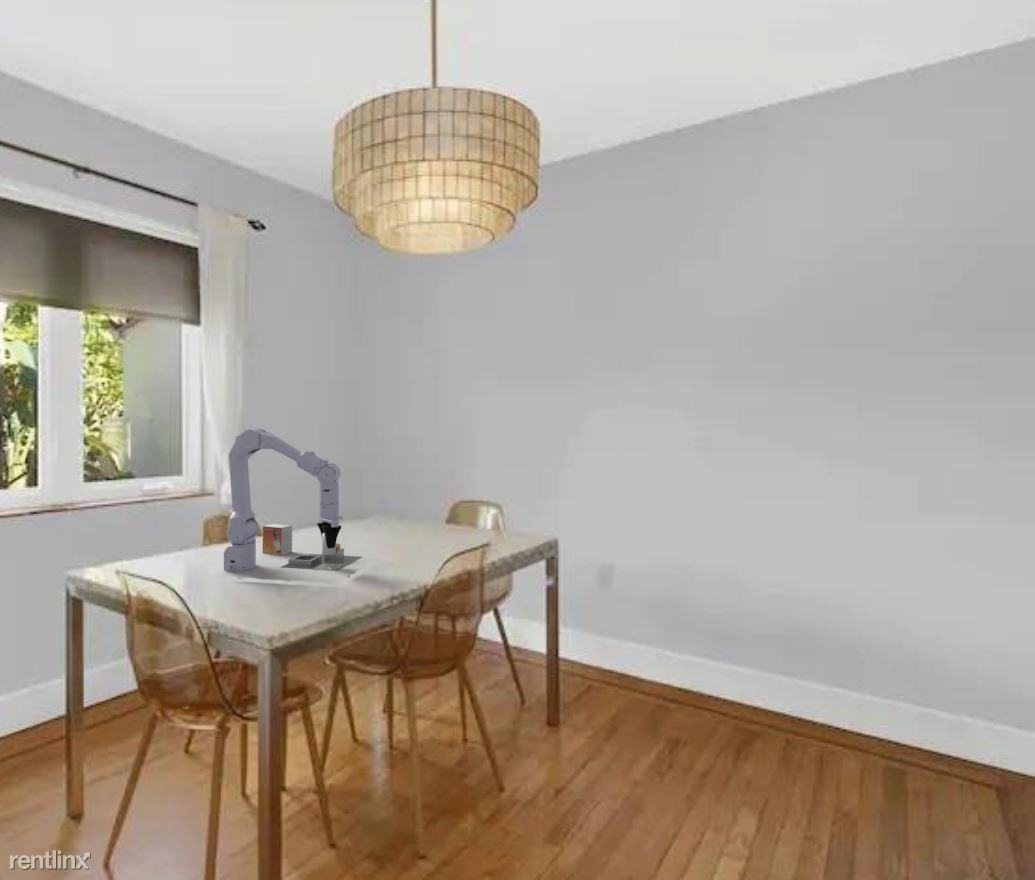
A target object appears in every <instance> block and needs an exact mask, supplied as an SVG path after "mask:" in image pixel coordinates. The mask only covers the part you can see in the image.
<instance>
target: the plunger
mask: <svg viewBox="0 0 1035 880" xmlns="http://www.w3.org/2000/svg"><path fill="white" fill-rule="evenodd" d="M338 548H341V543H337V542H336V551H337V550H338Z"/></svg>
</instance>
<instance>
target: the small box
mask: <svg viewBox="0 0 1035 880" xmlns="http://www.w3.org/2000/svg"><path fill="white" fill-rule="evenodd" d="M292 552H293V525H292V524H289V525H288V524H280V523H279V524H278V523H271V524H267V525H263V526H262V554H267V555H276V556H283V555H287V554H290V553H292Z"/></svg>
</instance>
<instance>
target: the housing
mask: <svg viewBox="0 0 1035 880" xmlns="http://www.w3.org/2000/svg"><path fill="white" fill-rule="evenodd" d="M362 558H363V556H354V555H345V548H342V547H340V548H338V550H337V551H336V554H335V555H323V554H322V553H321V554H318V553H317V554H316V553H309V554H299V555H296V556H294V557H291V558H290V559H288V563H287V564H283V565H282V566H280V568H283V569H284V568H285V569H298V570H299V569H302V570H314V571H315V570H316V571H318V570H319V571H331V572H332V571H335V572H338V571H340V570H342V569H344V568H345V567H347V566H349V565H351V564H352V563H354V562H356V561H358V560H360V559H362Z"/></svg>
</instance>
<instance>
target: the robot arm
mask: <svg viewBox="0 0 1035 880" xmlns="http://www.w3.org/2000/svg"><path fill="white" fill-rule="evenodd" d="M260 450H273V451H275V452H278V453H280V454H281V455H283V456H285V457H287V458H289V459H291V460H294V461H295V464H296V467H298V468H299V469H301V470H303V471H304V472H306V473H308V474H309V475H311V476H313V477H314V478H317V480H318V482H319V517H318V520H319V521H320V522H317V523H316V525H317V526H318V529H319V531H320V534H321V537H322V533H325V537H326V544H327V548H335V544H336V543H337V539H338V536H339V533H340V531H341V530H342V525H339V520H343V516H342V515H339V514H340V513H339V512H340V511H339V506H340V501H339V496H340V492H339V490H340V489H339V479H340V476H341V469H340V468H339V466H337V464H336V463H333V462H332V463H331V462H329V460H327V459H325V460H324V459H323V458H320V457H319V456H318V455H316V452H315V451H308V450H306V451H300V450H299V449H298V448H296V447H294V446H293V445H291V444H289V443H288V442H286V441H284V440H283V439H281V438H280V437H279V436H277V435H275V434H273V433H272V432H269V431H268V432H267V431H266V430H265V429H263V428H256V429H244V430H242V431H241V432H240V433H239V434H237V435H236V436H235V442H234V444H233V445H232V448H231V449H230V451H229V453H228V462H229V463H228V465H229V476H230V477H229V478H230V489H231V490H230V492H231V493H230V494H231V507H232V513H231V515H230V517H229V523H228V524H229V525H228V528H227V530H226V536H227V538H228V540H229V542H230V543H229V546H227V547H226V548H225V550H224V552H223V571H229V572H230V571H231V572H244V571H247V570H249V569H252V568H255V567H257V566H256V565H257V563H256V562H257V557H256V555H257V554H256V551H257V550H256V547H257V546H256V544H257V542H256V540H257V539H256V537H255V536H256V535H258V532H259V527H260V526H259V523H258V522H257V520H256V515H255V513H254V512H253V509H252V503H251V488H250V473H249V472H250V471H249V459H250V458H251V457H252V456H253V455H254V454H256V453H257V452H258V451H260Z"/></svg>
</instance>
